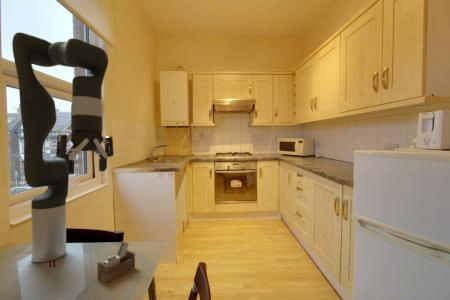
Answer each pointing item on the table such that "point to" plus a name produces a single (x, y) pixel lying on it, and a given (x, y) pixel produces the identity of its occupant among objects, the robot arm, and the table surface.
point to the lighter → (114, 259)
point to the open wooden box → (116, 267)
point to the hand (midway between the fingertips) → (87, 172)
